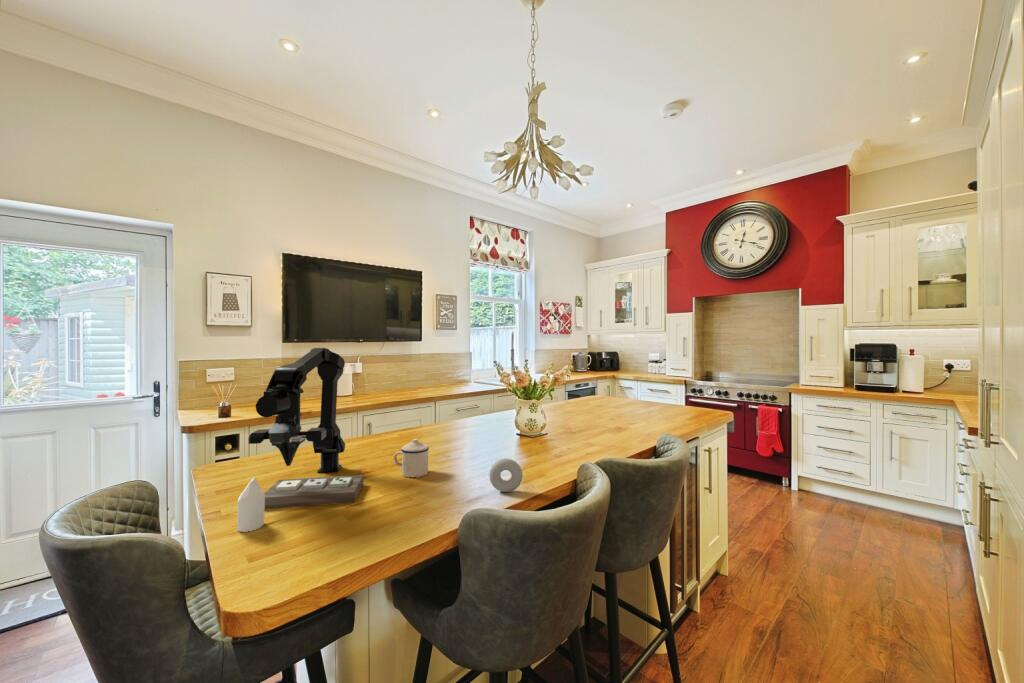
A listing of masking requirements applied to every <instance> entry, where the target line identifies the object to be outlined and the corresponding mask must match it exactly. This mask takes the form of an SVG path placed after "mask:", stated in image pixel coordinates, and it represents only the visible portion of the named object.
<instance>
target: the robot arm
mask: <svg viewBox="0 0 1024 683" xmlns="http://www.w3.org/2000/svg"><path fill="white" fill-rule="evenodd" d="M345 365H346V361H345V360H344V358H343V357H342V356H341V355H340V354H339V353H335V352H334V351H331V350H330V349H329V348H327V347H313V348H311V350H310V351H308V352H307V353H306V354H305V355H303V356H302V357H300V358H299V359H297V360H296V361H294V362H293V363H288V364H287V363H286V364H283V365H280V366H278V367H277V368H276V369H274V371H273V372H272V375H271V377H270V380H269V382H268V385H267V386H266V388H265V390H264V391H263V395H262V396H261V397H259V399H257V401H256V404H255V411H256V413H257V414H258V415H259V416H261V417H262V418H271V417H275V421H274V424H273V425H272V426H271V428H268V429H265V428H264V429H257V430H254V431H253V432H251V433H250V434H249V436H248V444H250V445H251V444H252V445H253V444H254V445H257V444H261V443H262V442H264V441H265V440H269V443H270V445H271V446H273V447H276V448H278V450H279V452H280V454H281V456H282V459H283V461H284V464H285V465H286V466H287V467H290V466H291V465H292V463H293V460H294V458H295V455H296V452H297V451H298V448H299V447H300V445H301V444H302V443H304V442H305V441H308V442H312V446H313V453H314V454H320V467H319V469H317V471H316V473H336V472H337V473H338V471H339V470H340V469H341V467H342V464H340V462H339V460H340V458H339V457H340V453H344V452H345V449H346V443H345V441H344V440H343V438H342V436H341V429H340V428H339V426H338V425H337V423H336V422H337V403H338V402H337V401H338V398H337V397H338V383H339V382H338V381H339V379H341V377H342V375H343V374H344V368H345ZM315 368H316V369H317V375H318V376H319V379H321V381H322V382H321V400H320V401H321V403H320V421H319V424H318V426H317V427H311V428H309V429H307V430H304V431H301V430H302V426H301V417H302V412H301V394H303V393H304V392H305V391H304V389H303V388H302V386H303V385H304V384H305V383H306V381H307V379H308V377H307V375H308V374H309V373H311V371H313V370H314V369H315Z"/></svg>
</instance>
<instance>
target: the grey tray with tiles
mask: <svg viewBox="0 0 1024 683" xmlns="http://www.w3.org/2000/svg"><path fill="white" fill-rule="evenodd" d="M346 477H352V483H351V484H350V486H349V487H338V488H330V483H331V482H332V480H333V479H334V478H346ZM310 479H327V484H326V485H325V486H324V488H322V489H306V490H303V485H304V484H305V483H306V482H307V481H308V480H310ZM294 480H301V485H300V487H299V488H298V489H297V490H289V491H276V487H277V486H278V485H279V484H280V483H281V482H282V481H294ZM363 486H364V474H359V475H357V474H356V475H341V476H340V475H339V476H323V477H321V476H320V477H307V478H306V477H303V478H301V477H300V478H285V479H284V478H283V479H278V481H276V482H275V483H274V484H272V486H270V487H269V488H268V489H267V490H266V491H264V492H265V510H266V509H267V508H269V509H280V508H293V507H294V508H295V507H310V506H324V504H327V505H339V504H338V503H341V504H352V503H355V502H356V500H357V498H358V496H359V494H360V492H361V490H362V488H363ZM361 487H362V488H361ZM267 510H268V509H267Z"/></svg>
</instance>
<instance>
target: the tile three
mask: <svg viewBox="0 0 1024 683" xmlns="http://www.w3.org/2000/svg"><path fill="white" fill-rule="evenodd" d="M351 483H352V477H346V478H334V479H333V480H332V482H331V483H330V488H338V487H349V486H350V484H351Z"/></svg>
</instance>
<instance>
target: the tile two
mask: <svg viewBox="0 0 1024 683" xmlns="http://www.w3.org/2000/svg"><path fill="white" fill-rule="evenodd" d="M326 484H327V479H310V480H308V481H307V482H306V483H305V484H304V485H303V490H306V489H322V488H324V486H325V485H326Z"/></svg>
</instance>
